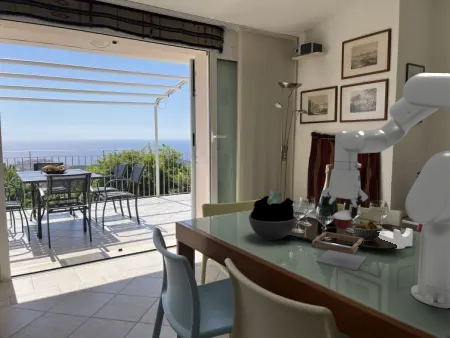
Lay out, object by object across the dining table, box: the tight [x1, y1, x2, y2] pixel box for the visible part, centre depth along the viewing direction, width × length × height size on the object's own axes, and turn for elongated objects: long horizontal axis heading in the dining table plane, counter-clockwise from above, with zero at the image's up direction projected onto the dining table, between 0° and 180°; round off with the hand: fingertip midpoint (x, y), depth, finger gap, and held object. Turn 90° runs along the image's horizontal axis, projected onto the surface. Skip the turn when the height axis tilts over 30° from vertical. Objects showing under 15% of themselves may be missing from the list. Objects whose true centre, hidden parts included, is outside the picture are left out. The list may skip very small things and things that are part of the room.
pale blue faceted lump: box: [267, 189, 282, 205], centre depth 185 cm, size 18×20×18 cm
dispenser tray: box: [311, 231, 364, 255], centre depth 140 cm, size 16×16×3 cm
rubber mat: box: [315, 250, 367, 272], centre depth 124 cm, size 14×14×1 cm
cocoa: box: [332, 199, 353, 230], centre depth 122 cm, size 10×6×12 cm, turn 114°
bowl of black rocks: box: [248, 195, 297, 241], centre depth 148 cm, size 20×20×19 cm
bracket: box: [378, 227, 414, 250], centre depth 144 cm, size 13×7×8 cm, turn 17°
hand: (343, 215), depth 122 cm, fingers closed on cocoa, 6 cm apart
